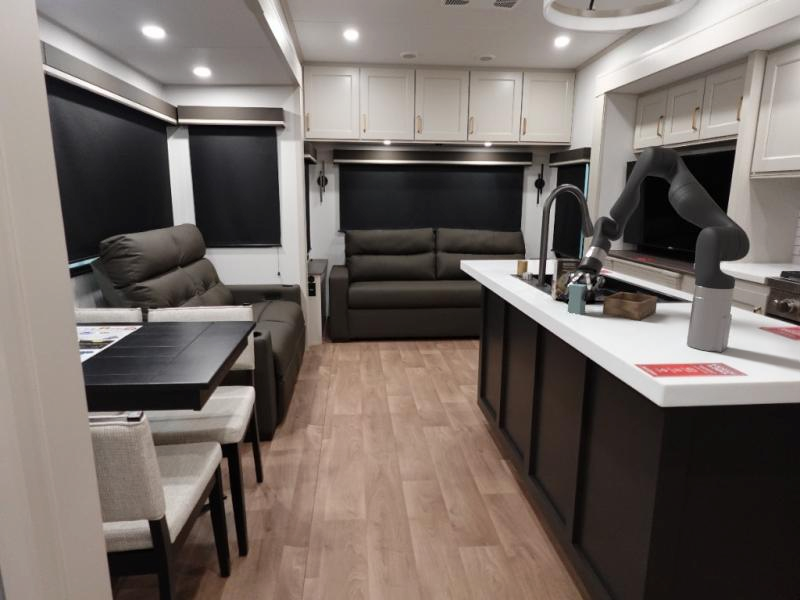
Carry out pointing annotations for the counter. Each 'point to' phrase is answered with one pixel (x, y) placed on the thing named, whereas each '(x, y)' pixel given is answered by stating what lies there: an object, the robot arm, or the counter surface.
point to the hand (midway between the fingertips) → (575, 298)
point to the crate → (629, 306)
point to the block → (577, 298)
